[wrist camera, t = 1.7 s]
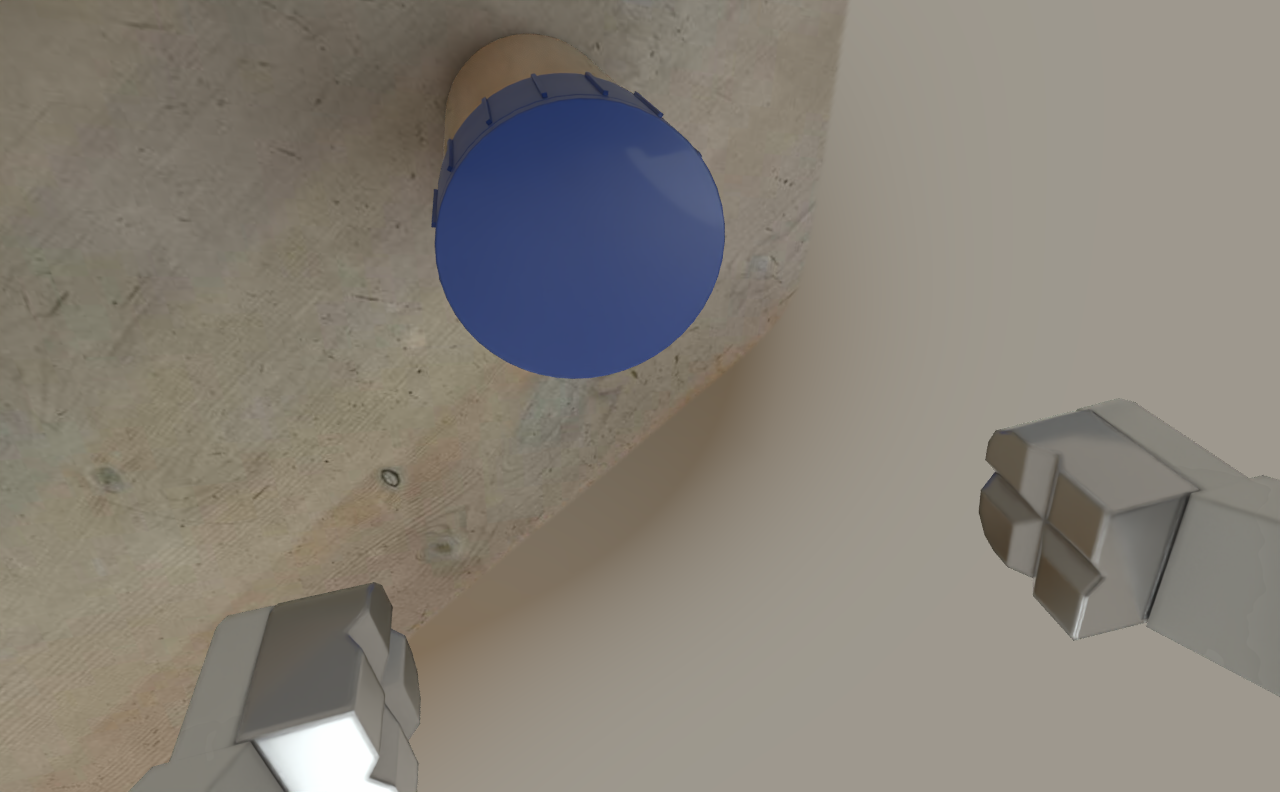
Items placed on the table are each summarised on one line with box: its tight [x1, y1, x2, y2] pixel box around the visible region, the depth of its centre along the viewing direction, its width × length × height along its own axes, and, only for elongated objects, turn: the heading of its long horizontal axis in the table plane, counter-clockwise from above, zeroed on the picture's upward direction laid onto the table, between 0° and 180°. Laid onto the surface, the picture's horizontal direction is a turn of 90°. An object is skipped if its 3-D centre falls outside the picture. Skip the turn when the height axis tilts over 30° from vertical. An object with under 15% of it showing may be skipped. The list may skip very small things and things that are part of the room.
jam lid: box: [431, 72, 725, 379], centre depth 17 cm, size 6×6×3 cm
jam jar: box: [443, 34, 619, 160], centre depth 22 cm, size 6×6×12 cm
